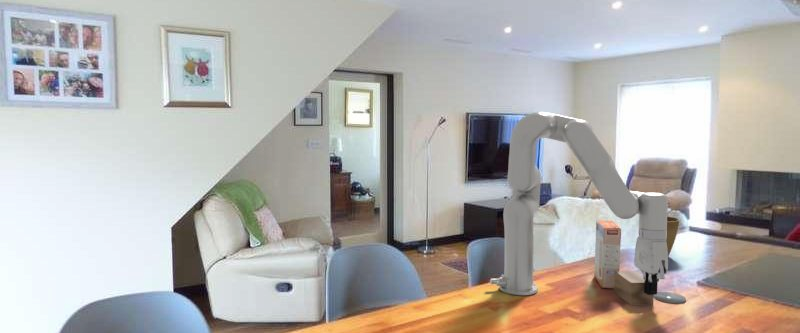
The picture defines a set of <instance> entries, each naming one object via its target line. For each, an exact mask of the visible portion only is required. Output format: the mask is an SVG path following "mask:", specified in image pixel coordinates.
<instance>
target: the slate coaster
mask: <svg viewBox="0 0 800 333" xmlns="http://www.w3.org/2000/svg"><path fill="white" fill-rule="evenodd" d="M654 299H655V300H657V301H660V302H663V303H667V304H684V303H685V302H686V301H687V298H686V297H685V296H684V295H681V294H679V293H676V292H670V291H657V294H655V295H654Z"/></svg>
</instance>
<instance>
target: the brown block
mask: <svg viewBox="0 0 800 333" xmlns="http://www.w3.org/2000/svg"><path fill="white" fill-rule="evenodd" d="M644 283H645V280H644V278H643V274H641V273H640V272H638V271H637V270H631V271H630V270H629V271H628V270H627V271H626V270H624V271H623V270H622V271H621V270H619V271H615V285H614V290H613V292H614V293H615V294H616V295H618V296H619V297H620V298H621V299H623V301H625V302H626V303H628V304H629V306H645V305H646V306H650V305H651V306H653V305H654V299H655V298H654V295H647V294H646V293H644Z"/></svg>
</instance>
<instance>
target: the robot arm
mask: <svg viewBox="0 0 800 333" xmlns="http://www.w3.org/2000/svg"><path fill="white" fill-rule="evenodd" d="M540 139H549V140H553V141H558V142H563V143H566V144H567V146H568V148H569V149H570V151H571V152H572V153H573V155H574V156H575V157H576V159H577V160H578V162H579V164H580V165H581V167H582V168H583V169H584V171H585V172H586V174H587V176H588V178H589V180H590V181H591V182H592V183H593V185H594V186H595V187H594V188H596V190H597V192H598V193H599V194H600V196H601V198H602V199H603V201H604V202H605V204H606V206H608V208H609V210H610V211H611V213H612V214H613V215H614V216H616V217H617V218H619V219H622V220H630V219H632V218H634V217H635V216H636V215H637V214H638V235H637V238H636V241H635V248H634V249H635V250H634V262H633V263H634V266H635V268H636V269H638V270H640V272H641V273H642V275H643V278H644V280H645V283H644V293H646V294H647V295H655V294H657V292H658V283H659V281H660V280H664V279H666V278H665V274H667V273H668V268H669V256H668V250H667V242H666V238H667V216H668V205H669V204H668V203H669V201H668V196H667V195H666V194H664V193H661V192H641V191H634V190H630V189H629V188H628V187H627V185H626V184H625V182H624V181H623V179H622V177H621V176H620V173H619V172H618V170H617V168H616V165H615V162H614V160H613V158H612V156H611V154H609V152H608V150H606V148H605V147H604V145H603V144H602V142H601V140H600V139H599V138H598V136H597V135H596V134H595V132H594V131H593V127H592V125H591V124H590V122H588V121H587V120H584V119H579V118H575V117H569V116H565V115H560V114H556V113H551V112H547V111H536V112H532V113H530V114H527V115H525V116H523V117H522V118H521V119H519V120H518V121H517V123H516V124H515V125H514V127H513V128H512V131H511V133H510V140H509V154H508V165H507V166H508V167H507V168H508V170H507V184H508V186H509V188H510V189H511V190H512V192H511V193H512V194H511V198H510V199H509V200H508V201H507V202H506V203H505V205H504V208H503V212H502V213H503V214H502V217H503V226H504V227H503V228H504V230H503V232H504V265H503V266H504V268H503V270H504V271H503V273H504V274H501V276H500V277H498V278H494V277H493V278H490V279H489V283H490V285H496V286H497V287H499V290H501V291H502V292H503V293H505V294H508V295H514V296H531V295H535V294H537V292H538V291H539V288H538V285H536V284H535V283H534V266H535V265H534V264H535V263H534V254H535V253H534V252H535V251H534V250H535V245H534V244H535V243H534V242H535V234H534V231H535V230H534V218H536V216H537V214H538V213H539V210H540V201H541V198H540V197H541V182H542V180H541V179H542V178H541V171H540V169H539V167H537V165H536V156H537V155H536V154H537V142H538V140H540Z"/></svg>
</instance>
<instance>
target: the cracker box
mask: <svg viewBox="0 0 800 333" xmlns="http://www.w3.org/2000/svg"><path fill="white" fill-rule="evenodd" d="M595 225H596V226H595V252H594V253H595V254H594V274H593V275H594V278H595V279H596V281H597V283H598V284H599V286H600V287H601V289H612V290H613V289H614V285H615V271H620V268H621V267H620V265H621V264H620V262H621V245H622V244H621V243H622V242H621V241H622V240H621V239H622V228H621V226H619V225H618V224H616V223H615V222H614V221H612V220H601V219H600V220H596V223H595Z"/></svg>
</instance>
